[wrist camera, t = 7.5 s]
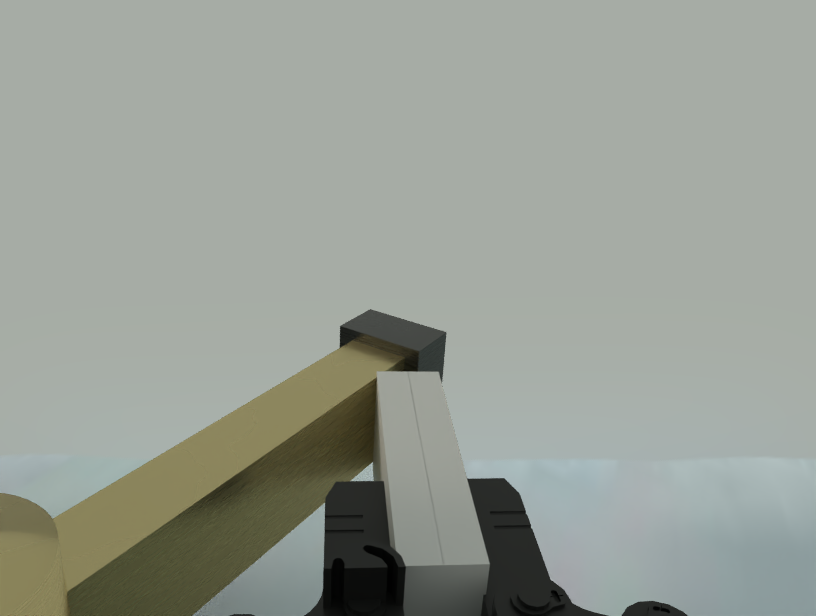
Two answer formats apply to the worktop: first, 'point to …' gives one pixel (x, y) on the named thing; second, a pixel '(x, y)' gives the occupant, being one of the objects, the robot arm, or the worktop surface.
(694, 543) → the worktop surface
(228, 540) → the lever
